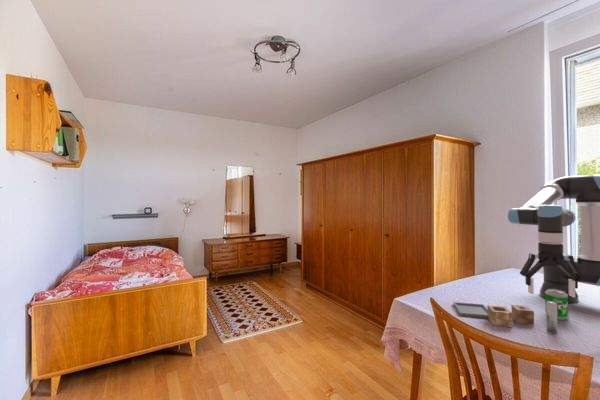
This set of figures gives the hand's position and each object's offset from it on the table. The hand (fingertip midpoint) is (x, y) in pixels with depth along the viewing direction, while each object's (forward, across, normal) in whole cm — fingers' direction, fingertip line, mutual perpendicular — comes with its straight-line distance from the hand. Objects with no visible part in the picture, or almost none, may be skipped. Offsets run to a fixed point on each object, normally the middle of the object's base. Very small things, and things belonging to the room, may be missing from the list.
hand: (551, 294), depth 112 cm
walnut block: (+15, +7, -8) cm, 19 cm away
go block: (+15, +17, -4) cm, 23 cm away
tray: (+15, +25, -14) cm, 32 cm away
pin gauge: (+15, 0, 0) cm, 15 cm away
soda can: (+15, -9, -16) cm, 24 cm away
